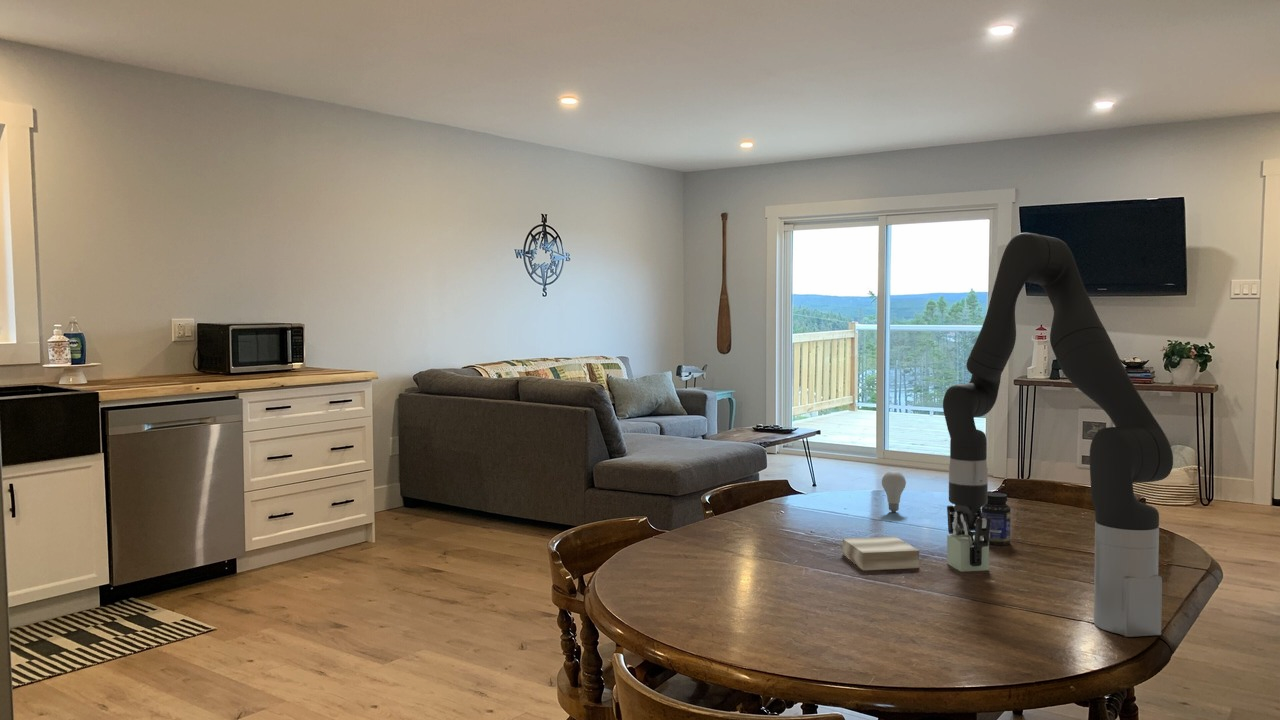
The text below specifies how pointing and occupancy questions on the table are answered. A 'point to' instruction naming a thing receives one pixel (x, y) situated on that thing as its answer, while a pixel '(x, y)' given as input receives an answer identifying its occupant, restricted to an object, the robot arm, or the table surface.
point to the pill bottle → (997, 518)
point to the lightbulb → (893, 488)
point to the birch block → (880, 553)
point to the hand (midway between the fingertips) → (967, 560)
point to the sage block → (964, 554)
